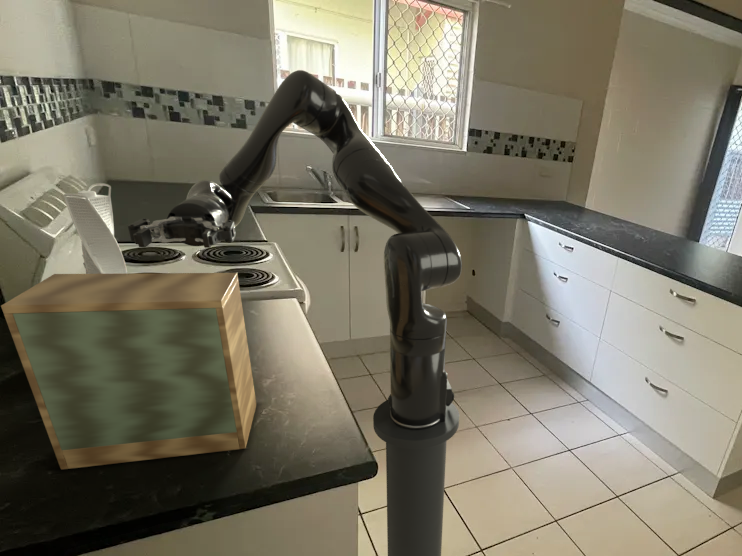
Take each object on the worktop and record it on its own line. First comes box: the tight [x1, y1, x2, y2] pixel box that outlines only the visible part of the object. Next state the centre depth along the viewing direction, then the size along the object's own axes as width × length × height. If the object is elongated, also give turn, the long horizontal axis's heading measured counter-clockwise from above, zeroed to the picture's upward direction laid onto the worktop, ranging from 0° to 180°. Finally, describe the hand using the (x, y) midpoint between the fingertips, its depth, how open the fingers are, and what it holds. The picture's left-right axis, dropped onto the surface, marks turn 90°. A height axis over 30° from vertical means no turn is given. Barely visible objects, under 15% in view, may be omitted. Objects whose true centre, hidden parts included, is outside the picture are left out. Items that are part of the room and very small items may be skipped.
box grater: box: [63, 182, 128, 274], centre depth 102 cm, size 8×8×28 cm
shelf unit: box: [0, 272, 257, 470], centre depth 66 cm, size 22×12×23 cm, turn 109°
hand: (173, 241), depth 72 cm, fingers open, 8 cm apart
